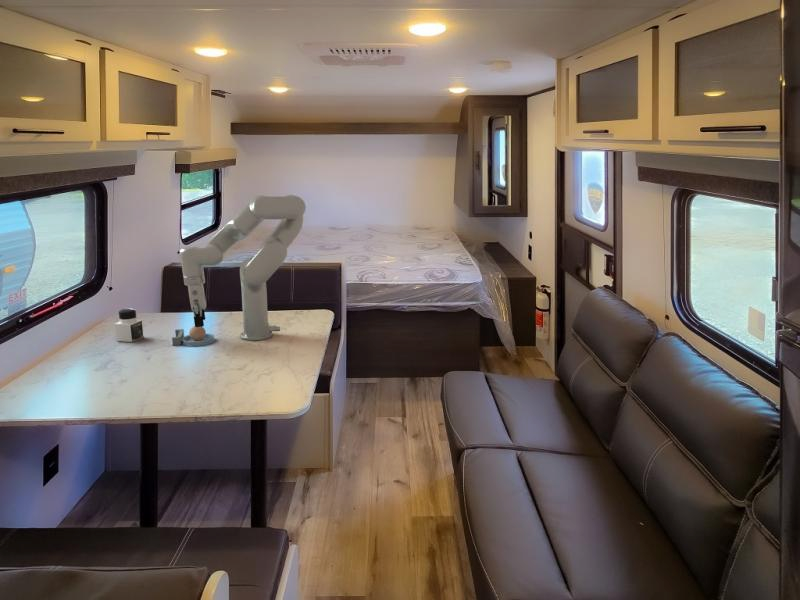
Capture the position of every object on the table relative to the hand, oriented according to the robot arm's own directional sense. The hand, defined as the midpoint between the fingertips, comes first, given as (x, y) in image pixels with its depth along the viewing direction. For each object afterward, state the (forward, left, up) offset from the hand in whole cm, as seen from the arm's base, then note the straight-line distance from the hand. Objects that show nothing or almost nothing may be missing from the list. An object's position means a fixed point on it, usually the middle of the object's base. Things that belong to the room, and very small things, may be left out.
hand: (200, 323), depth 225 cm
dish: (+1, 0, -7) cm, 7 cm away
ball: (+1, 0, -7) cm, 7 cm away
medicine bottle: (+27, -10, -8) cm, 30 cm away
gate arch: (+8, -3, -7) cm, 11 cm away
